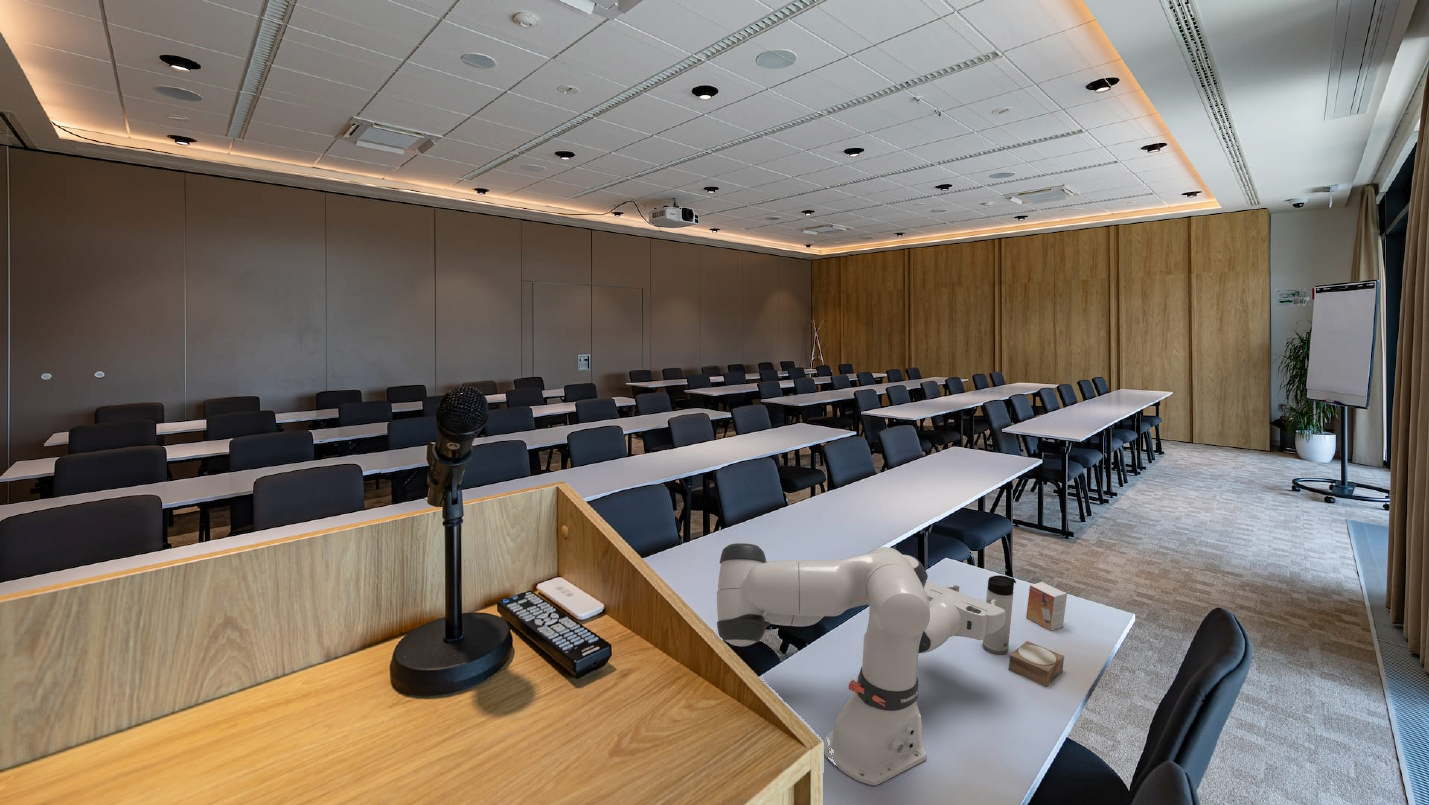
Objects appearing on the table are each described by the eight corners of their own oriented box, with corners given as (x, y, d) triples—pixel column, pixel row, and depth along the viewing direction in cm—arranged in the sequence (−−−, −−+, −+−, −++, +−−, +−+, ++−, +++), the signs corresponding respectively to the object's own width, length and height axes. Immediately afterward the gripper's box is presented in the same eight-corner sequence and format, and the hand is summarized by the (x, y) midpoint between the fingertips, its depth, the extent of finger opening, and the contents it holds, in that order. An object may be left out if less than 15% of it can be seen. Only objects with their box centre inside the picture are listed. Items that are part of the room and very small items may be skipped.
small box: (1025, 618, 178) (1028, 584, 176) (1038, 614, 181) (1042, 581, 179) (1050, 631, 171) (1054, 596, 169) (1063, 627, 173) (1067, 592, 172)
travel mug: (1012, 656, 159) (1019, 585, 156) (985, 653, 160) (991, 582, 157) (1005, 643, 165) (1012, 574, 162) (979, 640, 166) (985, 572, 163)
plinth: (1046, 686, 147) (1047, 670, 146) (1008, 669, 153) (1009, 654, 153) (1062, 670, 153) (1064, 655, 152) (1025, 654, 160) (1027, 639, 159)
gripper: (907, 609, 153) (935, 591, 162) (988, 643, 138) (1014, 622, 147) (908, 586, 151) (936, 569, 161) (990, 618, 136) (1016, 597, 145)
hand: (974, 594), depth 153 cm, fingers open, 8 cm apart
